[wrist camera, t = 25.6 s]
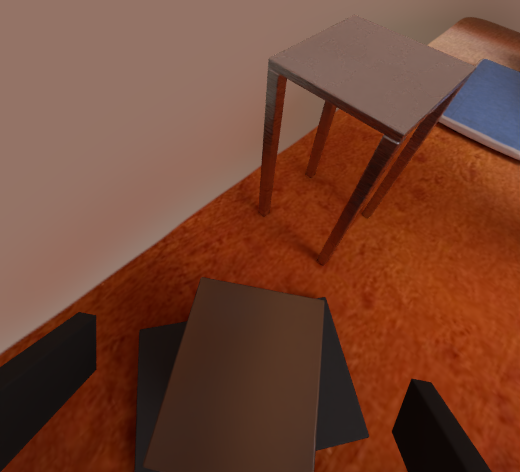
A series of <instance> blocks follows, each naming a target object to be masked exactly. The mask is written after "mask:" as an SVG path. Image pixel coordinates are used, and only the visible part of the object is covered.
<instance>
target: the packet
mask: <svg viewBox="0 0 520 472" xmlns="http://www.w3.org/2000/svg"><path fill="white" fill-rule="evenodd" d="M323 318H324V301H323V300H319V299H314V298H309V297H303V296H298V295H293V294H288V293H282V292H277V291H272V290H267V289H261V288H256V287H251V286H246V285H240V284H235V283H230V282H225V281H219V280H214V279H209V278H204V277H202V278H201V279H200V283H199V286H198V289H197V292H196V295H195V299H194V302H193V305H192V308H191V311H190V314H189V318H188V321H187V324H186V327H185V330H184V334H183V337H182V340H181V343H180V346H179V350H178V353H177V356H176V359H175V362H174V366H173V369H172V372H171V375H170V378H169V382H168V385H167V388H166V391H165V394H164V398H163V401H162V404H161V407H160V410H159V414H158V417H157V420H156V423H155V426H154V430H153V433H152V436H151V439H150V442H149V446H148V449H147V452H146V455H145V458H144V462H143V467H144V468H148V469H152V470H156V471H161V472H314V465H315V449H316V433H317V416H318V400H319V383H320V367H321V350H322V334H323Z"/></svg>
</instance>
